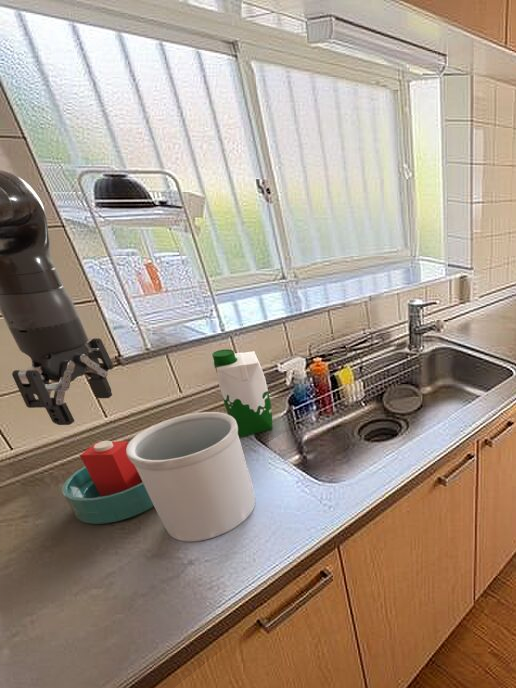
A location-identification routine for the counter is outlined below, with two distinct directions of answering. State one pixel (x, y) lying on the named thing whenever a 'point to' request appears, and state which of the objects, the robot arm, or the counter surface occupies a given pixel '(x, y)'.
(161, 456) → the utensil holder
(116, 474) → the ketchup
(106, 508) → the teal bowl
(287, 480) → the counter surface
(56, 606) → the counter surface
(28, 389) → the robot arm
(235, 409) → the milk carton
